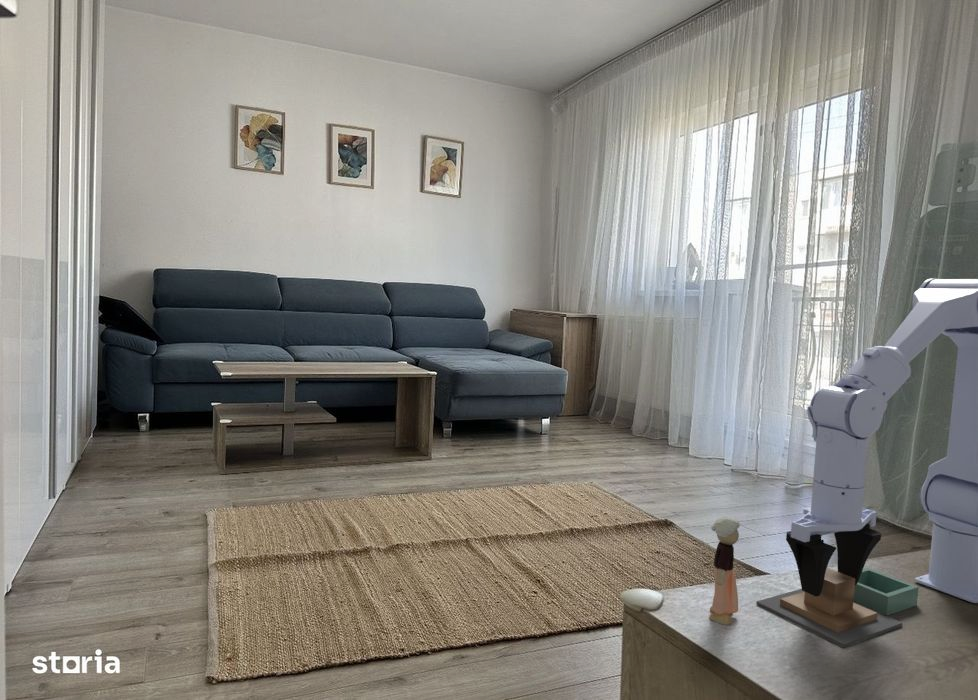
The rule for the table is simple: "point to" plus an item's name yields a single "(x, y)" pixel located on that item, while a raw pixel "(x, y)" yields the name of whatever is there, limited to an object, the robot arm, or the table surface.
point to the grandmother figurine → (725, 571)
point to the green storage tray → (884, 592)
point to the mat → (838, 638)
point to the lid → (831, 604)
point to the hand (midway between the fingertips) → (829, 587)
